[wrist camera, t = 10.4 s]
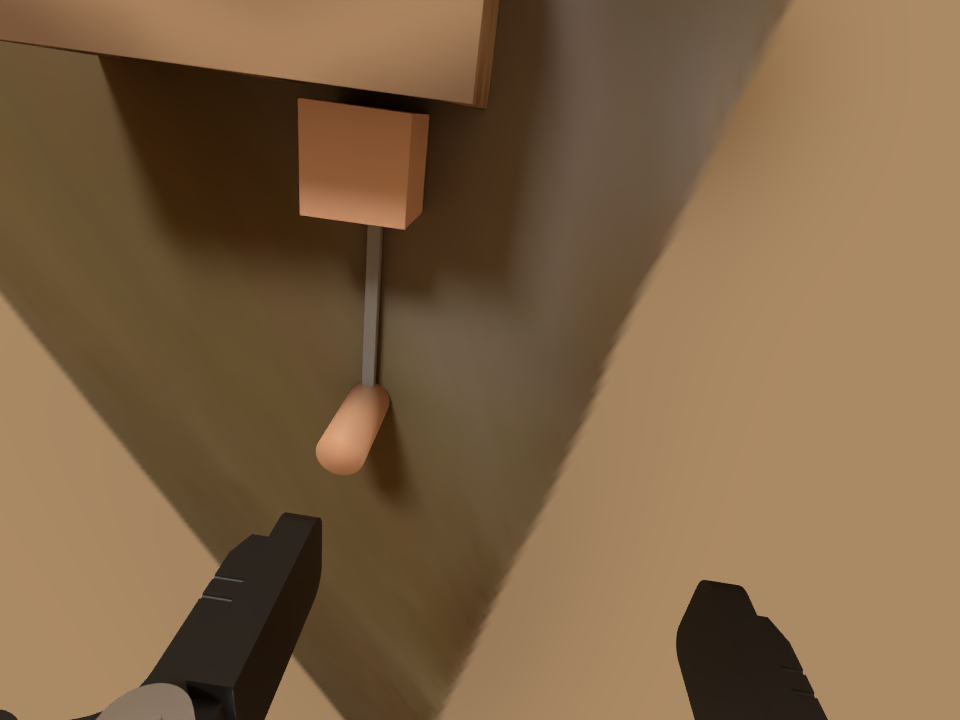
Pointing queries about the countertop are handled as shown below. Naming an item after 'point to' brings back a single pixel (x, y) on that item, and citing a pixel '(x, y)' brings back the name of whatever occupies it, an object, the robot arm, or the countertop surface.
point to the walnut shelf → (283, 39)
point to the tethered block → (378, 203)
